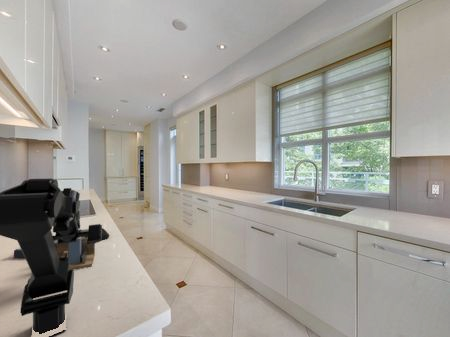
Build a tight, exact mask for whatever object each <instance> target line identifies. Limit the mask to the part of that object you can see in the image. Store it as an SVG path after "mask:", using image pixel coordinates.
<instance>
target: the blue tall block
mask: <svg viewBox="0 0 450 337" xmlns="http://www.w3.org/2000/svg"><path fill="white" fill-rule="evenodd" d="M79 230H82V228H80V229H79ZM81 238H82V237H78V238H77V242H72V243H68V258H69V263H70V265H71V264H76V263H80V261H81Z"/></svg>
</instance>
